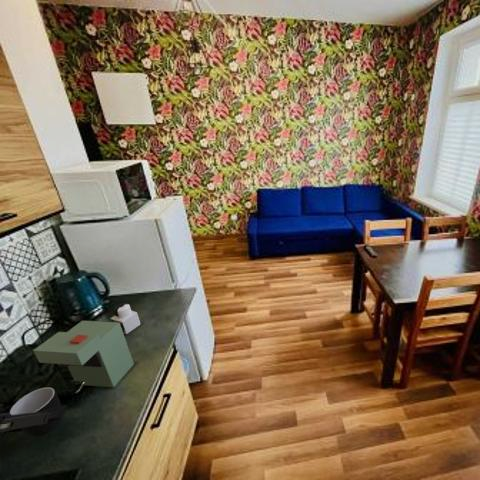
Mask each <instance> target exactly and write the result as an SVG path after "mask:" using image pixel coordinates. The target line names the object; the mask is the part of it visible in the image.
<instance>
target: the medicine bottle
mask: <svg viewBox="0 0 480 480" xmlns="http://www.w3.org/2000/svg"><path fill="white" fill-rule="evenodd" d="M112 312H113V316H112V317H110V320H111V321H110V322H116V323H120V326H121V329H122V331H123V334H124V335H128V334H129V333H131V332H132V331H133V330H135V329H137V328H138V327H139V326H141V320H140V318H139V314H138V312H137V311H134V310H132V308H131V305H130V303H128V302H123V303H119V304H117V305H115V306H114V307H113V308H112Z"/></svg>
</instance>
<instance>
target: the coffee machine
mask: <svg viewBox="0 0 480 480" xmlns="http://www.w3.org/2000/svg"><path fill="white" fill-rule="evenodd" d="M32 351H33V353H34V355H35V357H36V359H37V361H38V362H39V363H40V364H55V365H63V367H65V368H67V369H68V370H69V372H70V375H71V377H72V378H73V380H74V382H75V381H84V382H85V383H84V384H83V385H82V386H89V387H90V386H91V387H105V388H115V387H116V386H117V384H118V383H120V381H121V380H122V379H123V377H124V376H125V375H126V374H127V373H128V372H129V370H131V368H133V366H134V364H135V363H134V360H133V356H132V354H131V351H130V349H129V346H128V343H127V339H126V337H125V334H123V331H122V329H121V326H120V323H116V322H112V321H95V320H81V321H80V322H79V323H77V324H76V325H74V326H73V327H72V328H70V329H69V330H68V331H67V332H65V331H58V332H56V333H55V334H54V335H52V336H51V337H49V338H48V339H47V340H46V341H44V342H43V343H41V344H40V345H38V346H37V347H35V348H34V349H33V350H32ZM75 385H76V386H77V383H75Z"/></svg>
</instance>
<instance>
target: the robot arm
mask: <svg viewBox="0 0 480 480" xmlns="http://www.w3.org/2000/svg"><path fill="white" fill-rule="evenodd" d="M13 406H14V405H9V406H5V404H0V434H2V433H7V432H6V431H9V430H14V429H19V428H25V427H30V426H36V425H39V426H42V424H46V423H47V422H48V420H51V419H54V418H58V417H62V416H63V417H64V415H65V412H66V409H67V406H68V405H65V404H64V405H61V406H59V407H54V408H50V409H45V410H42V411H41V412H32V413H24V414H15V415H11V414H10V410H11V408H12V407H13ZM63 417H62V418H63Z"/></svg>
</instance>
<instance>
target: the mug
mask: <svg viewBox="0 0 480 480" xmlns="http://www.w3.org/2000/svg"><path fill="white" fill-rule="evenodd" d="M12 406H13V407H12V408H11V410H10V414H11V415H15V414H24V413H32V412H41V411H42V410H45V409H50V408H54V407H59V406H62V404H61V400H60V397H59V396H58V394H57V392H56V390H55V389H54V388H52V387H42V388H38V389H35V390H33V391H30V392H29V393H27V394H26V395H24V396H23V397H21V398H20V399H18V400H17V401H16V402H15V403H14V404H13V405H12ZM63 417H64V415H63V416H62V417H58V418H54V419H51V420H48V422H47V423H46V424H42V426H39V425H36V426H30V427H25V428H19V429H14V430H9V431H6V432H5V433H17V432H24V433H26V434H28V435H29V436H32V437H41V436H45V435H47V434H48V433H50V432H52V431H53V430H54V429H56V428H57V427H58V426H59V425H60V423H61V422H62V421H63Z"/></svg>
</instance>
